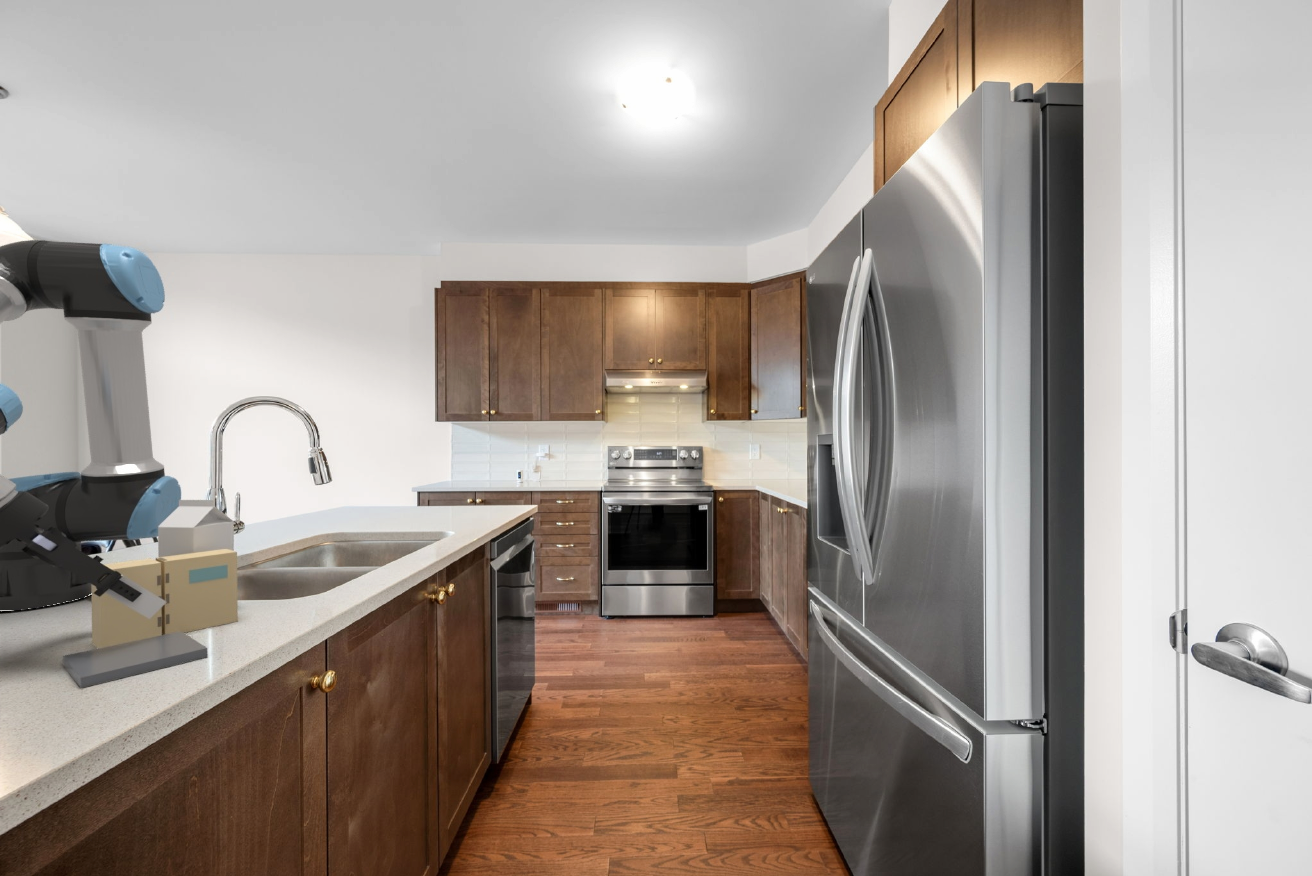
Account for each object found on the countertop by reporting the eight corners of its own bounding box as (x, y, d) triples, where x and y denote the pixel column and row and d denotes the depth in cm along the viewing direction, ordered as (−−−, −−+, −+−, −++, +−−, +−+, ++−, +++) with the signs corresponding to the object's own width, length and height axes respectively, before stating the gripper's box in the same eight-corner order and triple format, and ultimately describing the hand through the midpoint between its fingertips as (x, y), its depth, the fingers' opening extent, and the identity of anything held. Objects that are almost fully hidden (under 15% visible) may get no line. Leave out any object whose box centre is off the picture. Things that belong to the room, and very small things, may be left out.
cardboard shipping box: (156, 630, 89) (155, 557, 89) (226, 615, 96) (226, 548, 96) (165, 636, 86) (164, 561, 86) (237, 621, 93) (237, 551, 93)
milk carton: (194, 621, 93) (193, 502, 93) (158, 619, 94) (157, 501, 95) (234, 609, 100) (233, 497, 100) (200, 607, 101) (199, 497, 101)
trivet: (63, 665, 75) (63, 655, 75) (180, 639, 84) (180, 631, 84) (80, 688, 67) (80, 677, 67) (207, 657, 77) (207, 648, 77)
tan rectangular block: (91, 643, 83) (91, 566, 83) (150, 631, 89) (150, 558, 89) (100, 651, 80) (100, 571, 80) (161, 638, 85) (161, 562, 85)
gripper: (-48, 526, 80) (103, 611, 91) (-37, 543, 64) (143, 642, 76) (10, 484, 84) (147, 570, 95) (33, 491, 68) (193, 592, 80)
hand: (145, 602), depth 86 cm, fingers open, 13 cm apart
